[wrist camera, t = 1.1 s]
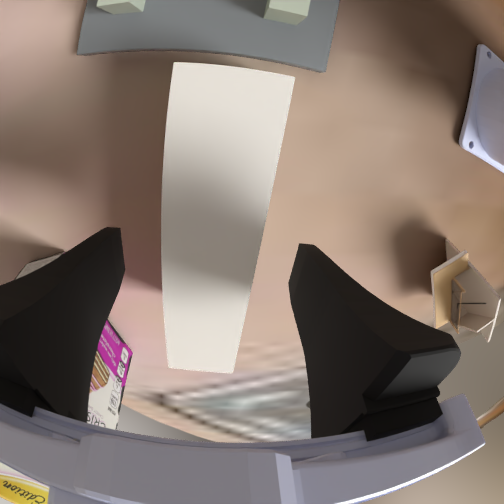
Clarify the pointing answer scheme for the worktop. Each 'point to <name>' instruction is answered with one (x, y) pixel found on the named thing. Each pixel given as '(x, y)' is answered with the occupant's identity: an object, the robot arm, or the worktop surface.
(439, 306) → the architectural model
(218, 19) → the slot rack
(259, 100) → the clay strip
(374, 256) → the worktop surface
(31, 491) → the candy bar box
